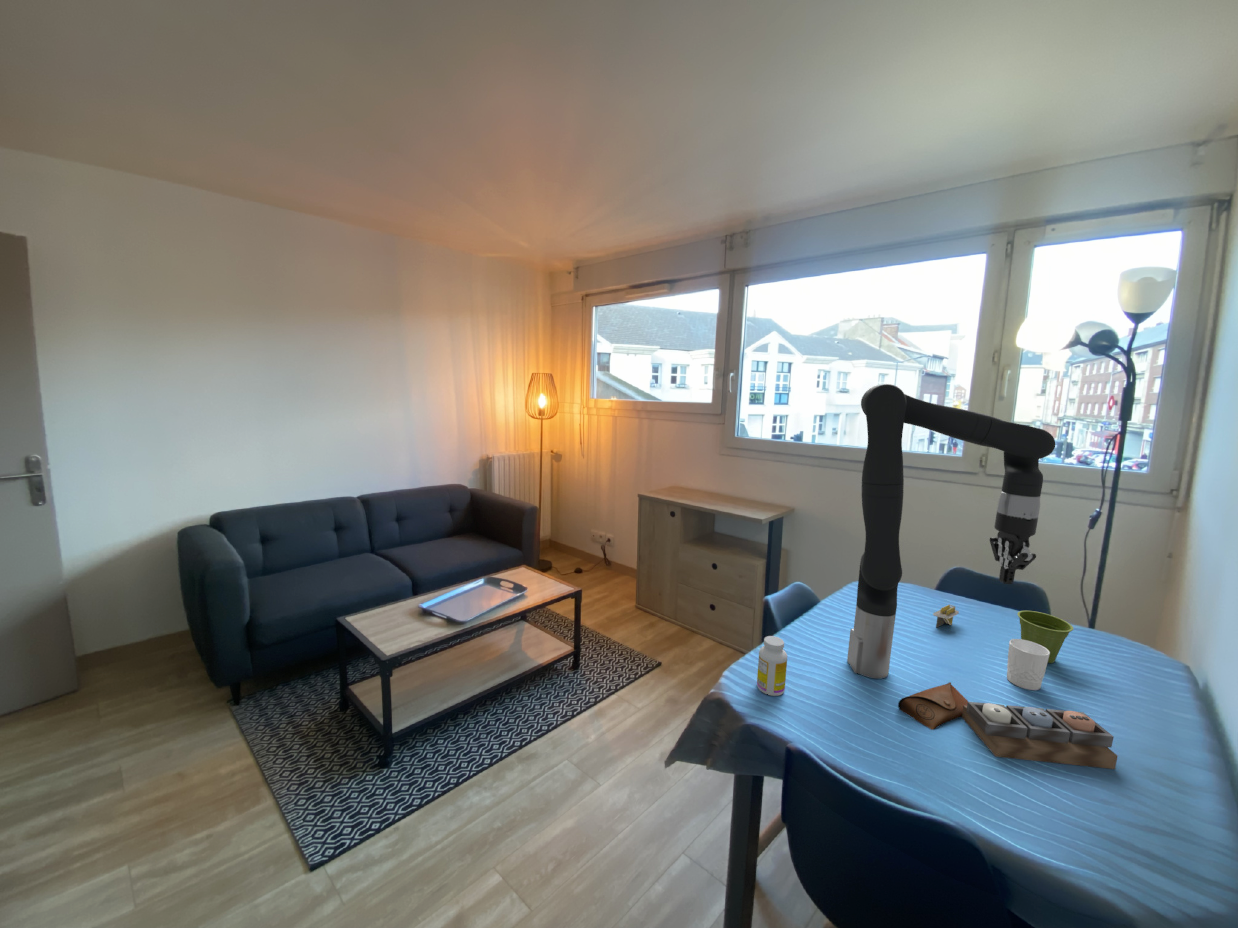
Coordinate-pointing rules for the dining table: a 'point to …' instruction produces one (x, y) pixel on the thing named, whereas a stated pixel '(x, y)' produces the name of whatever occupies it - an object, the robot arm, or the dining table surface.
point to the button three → (1079, 721)
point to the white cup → (1026, 663)
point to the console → (1041, 738)
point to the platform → (945, 615)
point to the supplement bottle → (772, 666)
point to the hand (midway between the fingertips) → (1005, 582)
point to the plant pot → (1044, 631)
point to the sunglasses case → (934, 705)
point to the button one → (996, 713)
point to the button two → (1037, 717)
